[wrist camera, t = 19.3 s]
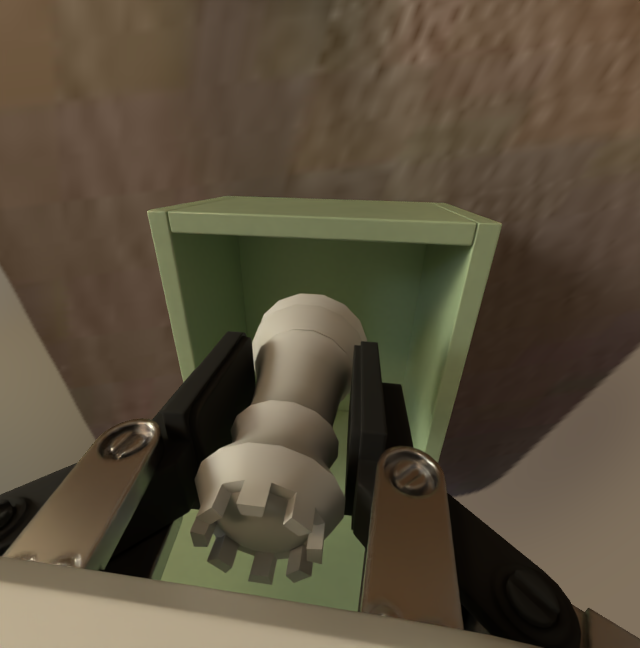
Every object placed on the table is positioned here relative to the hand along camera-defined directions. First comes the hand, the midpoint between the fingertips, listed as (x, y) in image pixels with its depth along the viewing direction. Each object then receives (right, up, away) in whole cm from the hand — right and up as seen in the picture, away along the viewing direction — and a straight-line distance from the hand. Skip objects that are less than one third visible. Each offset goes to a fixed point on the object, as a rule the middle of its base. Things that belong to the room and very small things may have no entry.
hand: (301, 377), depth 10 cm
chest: (+1, +2, +11) cm, 11 cm away
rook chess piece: (0, +1, +3) cm, 3 cm away
